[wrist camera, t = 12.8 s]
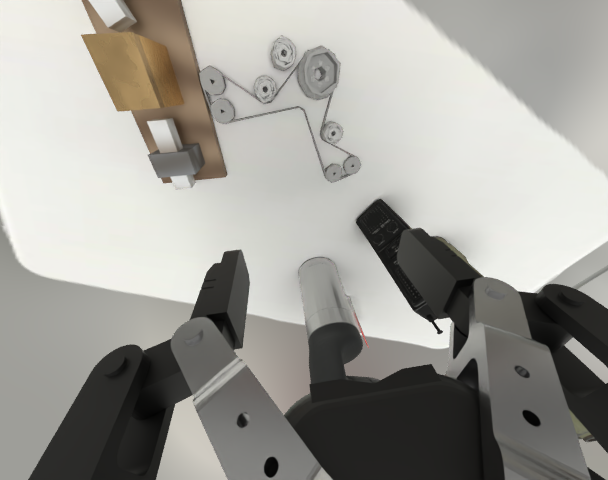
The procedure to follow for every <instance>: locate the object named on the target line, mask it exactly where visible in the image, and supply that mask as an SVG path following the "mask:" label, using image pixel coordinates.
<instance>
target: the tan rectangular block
mask: <svg viewBox="0 0 608 480" xmlns="http://www.w3.org/2000/svg"><path fill="white" fill-rule="evenodd" d="M81 36H82V38H83V40H84V42H85V44H86V46H87V49H88V51H89V53H90V55H91V57H92V59H93V61H94V63H95V65H96V67H97V70H98V72H99V74H100V76H101V78H102V80H103V82H104V84H105V86H106V88H107V90H108V93H109V95H110V97H111V99H112V101H113V103H114V105H115V107H116V109H117V111H129V110H142V109H155V108H164V107H170V106H176V105H182V104H184V101H183V97H182V94H181V91H180V88H179V85H178V82H177V79H176V76H175V72H174V69H173V66H172V63H171V60H170V57H169V54H168V50H167V47H166V46H164V45H162V44H159V43H157V42H155V41H152V40H150V39H147V38H145V37H142V36H140V35H138V34H135V33H133V32H122V33H104V34H85V35H81Z"/></svg>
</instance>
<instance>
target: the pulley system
mask: <svg viewBox="0 0 608 480" xmlns="http://www.w3.org/2000/svg"><path fill="white" fill-rule="evenodd" d="M282 52H283V53H284V54H285V57H283V56H282V55H281V53H282ZM295 57H296V47H295V46H294V44H293V43H292V42H291V41H290V39H288V38H286V37H284V36H281V37H280V38H278V39H277V40H276V41H275V42H274V44H273V48H272V50H271V58H272V62H273V64H274V68H277V69H280V70H285V69H288V68H290V67H291V66H292V65H293V63H294V60H295ZM340 64H341V63H340V62H339V61H338V60H337V58H336V56H335V54H334V53H332V52H331V51H330V50H329V49H326V48H325V47H323V46H319V47H317V48H314V49H312V50H308V51H307V52H305V54H304V57H303V58H302V60H301V61H300V62H299V64H298V65H299V70H298V82H299V84H300V86H301V87H302V88H303V90H304V92H305V93H306V95H307V97H310V98H313V99H316V100H319V99H323V98H327V97H328V96H329V95H330V94H331V95H330V99H329V102H328V106H327V109H326V113H325V116H324V120H323V123H322V127H321V131H320V134H321V138H322V140H324V141H325V142H327V143H329V144H331V143H332V144H331V145H333V144H335V145H336V144H337V142H338V141H339V140H340V139H341V138H342V135H343V129H342V127H341V126H340V125H339V124H337V123H335V122H327V123H326V124H324V123H325V120H326V116H327V112H328V109H329V105H330V102H331V98H332V94H333V91H334V89H335V88H336V87H337V84H338V81H339V73H340ZM298 65H297V66H298ZM297 66H296V68H297ZM296 68H295V69H296ZM317 68H318V69H319V71H320V73H321V75H322V77H321V78H320V79H319V80H317V79H316V78H315V77H314V76H315V69H317ZM295 69H294V70H293V72H294V71H295ZM293 72H292V73H293ZM292 73H291V74H290V76H291V75H292ZM199 75H200V82H201V85H202V88H203V91H204V94H205V96H206V99H207V102H208V104H209V107H210V110H211V112H212V116H213V117H214V118H215V119H216V120H217V122H220V123H223V124H227V123H231V122H235V121H240V120H244V119H248V118H253V117H257V116H262V115H267V114H271V113H276V112H280V111H285V110H290V109H294V108H299V106H297V107H293V108H288V109H283V110H279V111H274V112H269V113H265V114H260V115H255V116H251V117H246V118H241V119H236V120H232V119H233V118H234V116H235V113H234V107H233V106H232V105H231V104H230V102H229V101H228V100H225V99H217V100H216V101H215V102H214V103H213V104H212V105H211V103H210V100H209V97H208V95H207V92H208V93H209V94H210V95H218V94H222V93H223V91H224V89H225V87H226V85H225V82H224V78H223V76H224V75H223V74H222V73H220V72H219V71H218V70H216V69H215V68H213V67H211V66H208V67H207V68H205V69H203V70H202V71H201V72H200V73H199ZM290 76H289V77H290ZM224 77H225V78H227V77H226V76H224ZM289 77H288V78H287V80H288V79H289ZM227 79H228V80H230V79H229V78H227ZM213 80H214V81H215V82H214V83H212V81H213ZM287 80H286V81H287ZM230 81H231V82H233V81H232V80H230ZM286 81H285V82H284V84H285V83H286ZM233 83H234V82H233ZM234 84H236V83H234ZM284 84H283V85H284ZM236 85H237V84H236ZM283 85H282V86H281V88H282V87H283ZM237 86H239V85H237ZM239 87H240V86H239ZM263 87H266V88H267V89H268V90H267V92H263ZM240 88H242V87H240ZM281 88H280V89H281ZM242 89H243V88H242ZM280 89H279V90H278V92H279V91H280ZM243 90H245V89H243ZM254 90H255V94H256V96H257V97H258V98H259V99H260V100H259V99H258V98H257V97H255V96H254V95H252V94H251V93H249V92H248V91H246V90H245V91H246V92H247V93H249V94H250V95H252V96H253V97H255V98H256V99H258V100H259V101H261V102H262V103H271V102H272V100H273V99H274V97H275V96H276V95H277V93H278V92H277V91H276V85H275V82H274V81H273V80H272V79H271V78H270V77H268V76H267V75H266V76H260V77H258V78H257V80H256V82H255V85H254ZM206 91H207V92H206ZM276 92H277V93H276ZM268 101H270V102H268ZM300 108H301V107H300ZM301 109H302V108H301ZM222 110H223V111H225V112H224V113H222ZM302 110H303V111H304V113H305V110H304V109H302ZM305 116H306V113H305ZM231 120H232V121H231ZM306 120H307V123H308V126H309V129H310V132H311V135H312V138H313V141H314V144H315V148H316V151H317V154H318V157H319V160H320V163H321V166H322V169H323V172H324V176H325V178H326V179H327V180H328V181H330V182H331V183H332V182H336V181H339V180H341V179H343V178H345V177H348V176H350V175H352V174H355V173H357V172H358V170H359V169H360V166H361V162H360V160H359V158H358V157H356V156H354V155H352V154H350V153H348V152H346V151H344V150H342V149H340V148H338V147H337V148H338V149H340V150H342V151H344V152H346V153H348V154H349V155H351V156H353V157H349V158H347V159H346V160H345V161H344V166H343V168H344V170H345V172H346V173H347V175H344V176H342V170H341V166H338V165H336V164H331V165H330V166H329V167H328V168H326V169H324V167H323V164H322V161H321V158H320V155H319V152H318V149H317V146H316V143H315V140H314V137H313V134H312V131H311V128H310V125H309V122H308V119H307V116H306ZM331 132H332V133H331ZM335 145H333V146H335ZM335 147H336V146H335ZM341 176H342V177H341Z"/></svg>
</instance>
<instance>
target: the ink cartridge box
mask: <svg viewBox="0 0 608 480" xmlns="http://www.w3.org/2000/svg"><path fill="white" fill-rule="evenodd" d="M347 300H348V303H349V306H350V308H351V311H352V314H353V317H354V319H355V322H356V325H357V328H358V330H359V333H362V335H363V337H364V339H365V336H364V334H363V331H362V328H361V326H360V323H359V321H358V319H357V316H356V314H355V311H354V308H353V306H352V303H351V300H350V297H349V296H347ZM365 342H366V344H367V341H366V339H365ZM367 346H368V344H367ZM368 348H369V347H368Z"/></svg>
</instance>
